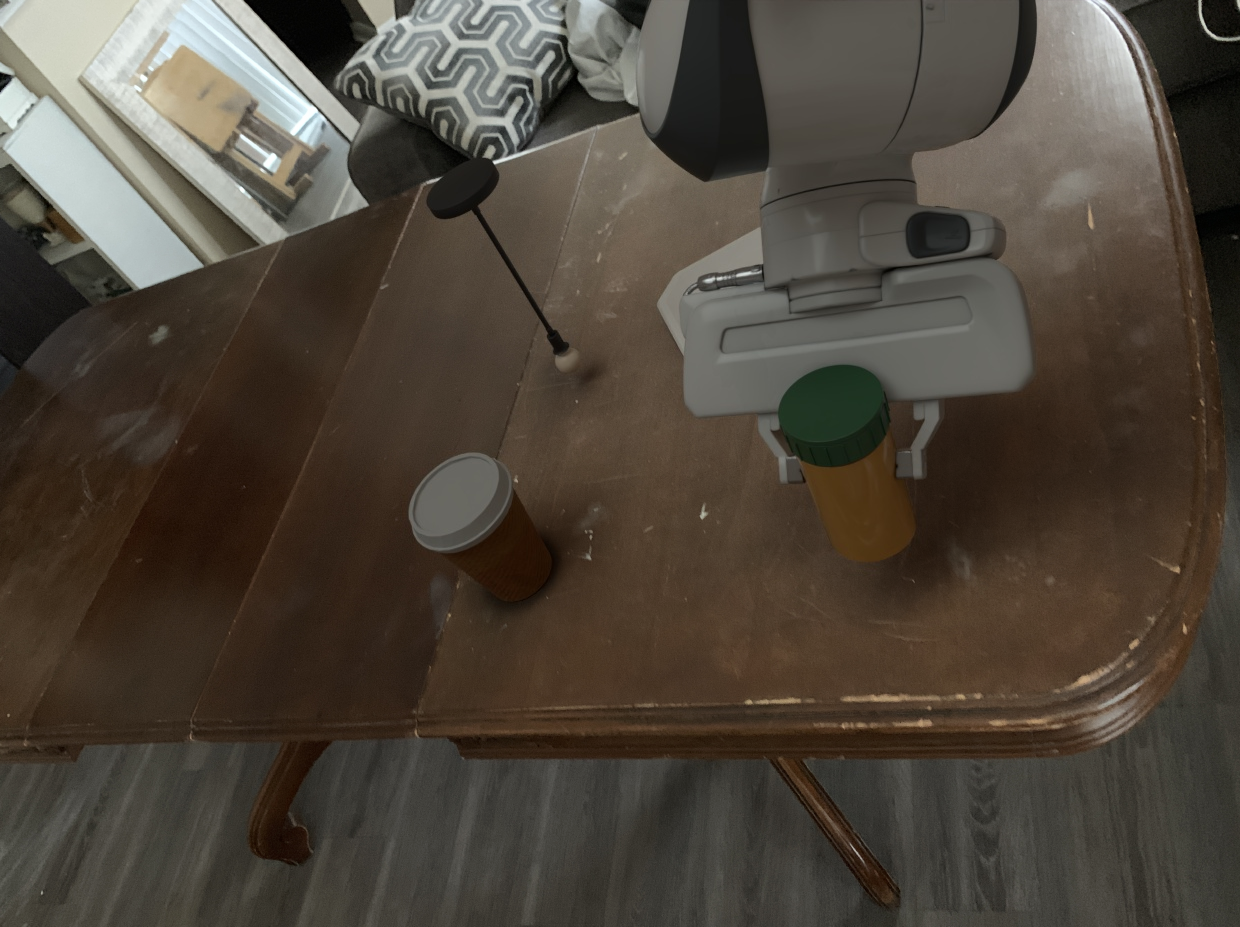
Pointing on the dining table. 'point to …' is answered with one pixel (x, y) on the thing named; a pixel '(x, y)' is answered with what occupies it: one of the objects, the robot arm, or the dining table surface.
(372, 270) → the dining table surface
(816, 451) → the lid
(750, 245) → the plate
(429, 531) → the disposable coffee cup
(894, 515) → the jar
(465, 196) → the light fixture
